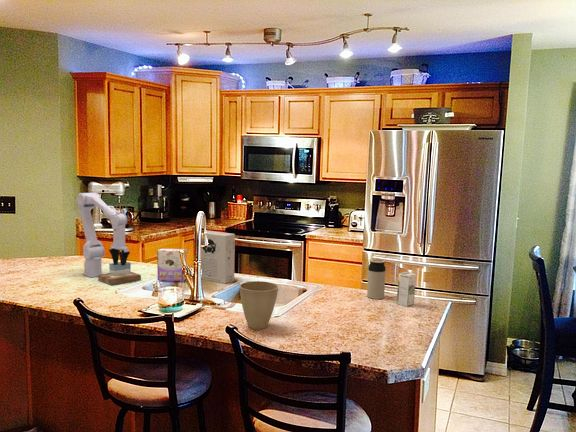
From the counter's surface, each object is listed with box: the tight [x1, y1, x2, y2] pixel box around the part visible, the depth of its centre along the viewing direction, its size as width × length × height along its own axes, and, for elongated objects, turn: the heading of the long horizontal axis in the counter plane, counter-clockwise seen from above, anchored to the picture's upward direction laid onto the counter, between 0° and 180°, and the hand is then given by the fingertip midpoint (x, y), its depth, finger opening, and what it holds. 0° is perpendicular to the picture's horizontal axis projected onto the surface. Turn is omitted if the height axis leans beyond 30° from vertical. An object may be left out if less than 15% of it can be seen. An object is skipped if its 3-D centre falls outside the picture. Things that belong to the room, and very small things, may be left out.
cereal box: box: [193, 229, 236, 284], centre depth 268 cm, size 22×8×25 cm, turn 58°
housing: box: [108, 261, 132, 277], centre depth 260 cm, size 9×5×6 cm, turn 137°
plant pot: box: [239, 280, 279, 330], centre depth 196 cm, size 15×15×16 cm
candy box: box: [156, 248, 187, 283], centre depth 263 cm, size 14×6×16 cm, turn 84°
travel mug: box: [366, 258, 387, 300], centre depth 242 cm, size 8×8×18 cm
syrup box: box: [396, 271, 417, 307], centre depth 231 cm, size 6×6×14 cm
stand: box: [97, 271, 142, 286], centre depth 261 cm, size 14×16×3 cm
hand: (119, 264), depth 260 cm, fingers open, 7 cm apart
